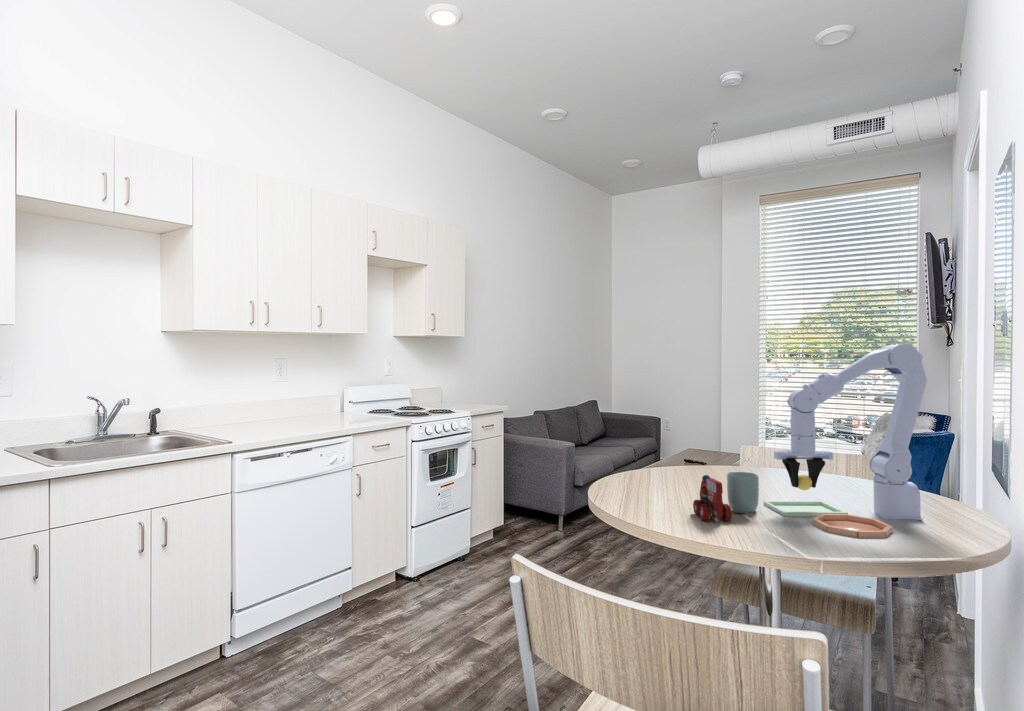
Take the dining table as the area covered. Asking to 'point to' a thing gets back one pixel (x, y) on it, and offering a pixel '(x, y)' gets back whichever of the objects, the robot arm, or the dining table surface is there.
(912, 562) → the dining table surface
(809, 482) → the ball
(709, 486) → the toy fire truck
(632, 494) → the dining table surface
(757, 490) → the cup
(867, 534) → the dish
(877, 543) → the dining table surface
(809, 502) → the tray
